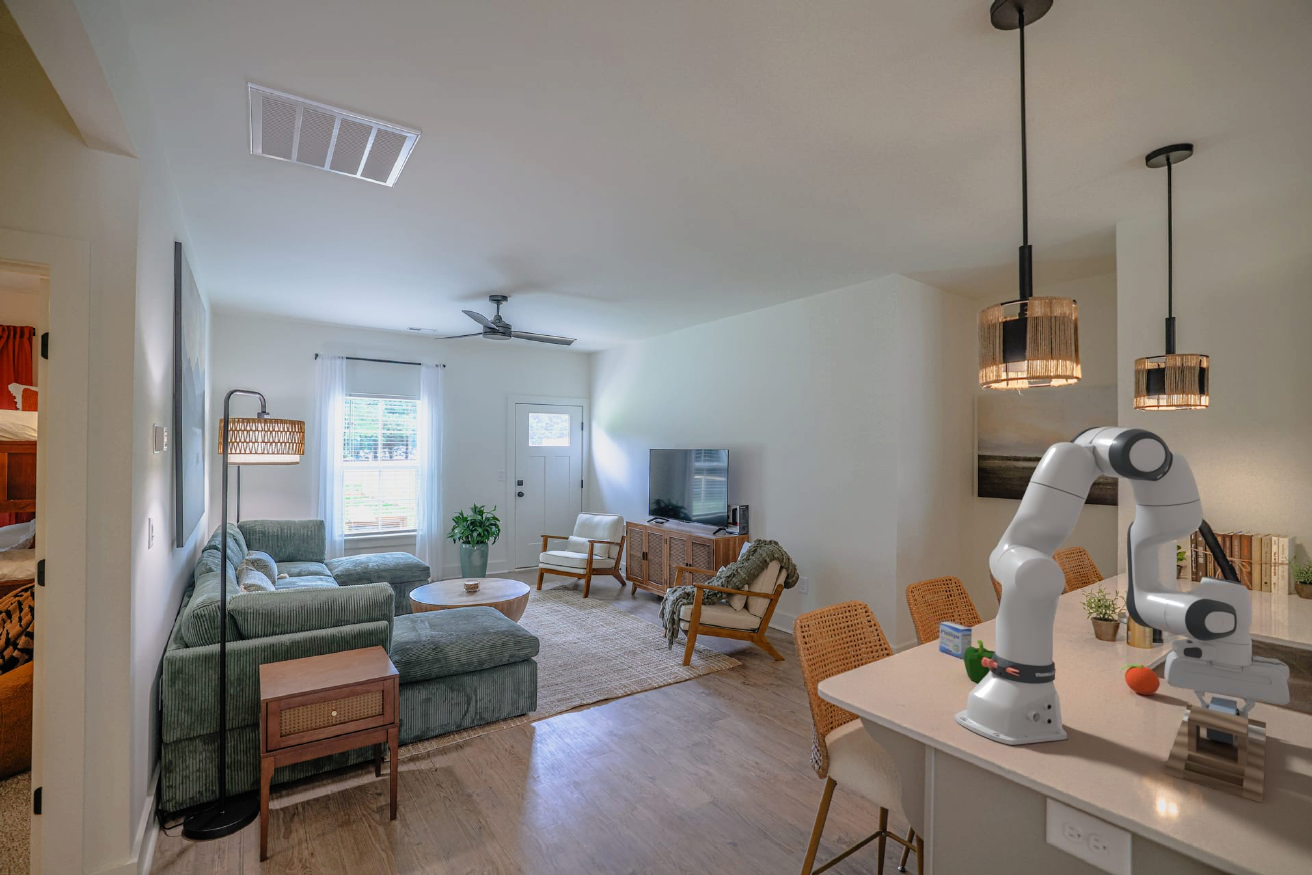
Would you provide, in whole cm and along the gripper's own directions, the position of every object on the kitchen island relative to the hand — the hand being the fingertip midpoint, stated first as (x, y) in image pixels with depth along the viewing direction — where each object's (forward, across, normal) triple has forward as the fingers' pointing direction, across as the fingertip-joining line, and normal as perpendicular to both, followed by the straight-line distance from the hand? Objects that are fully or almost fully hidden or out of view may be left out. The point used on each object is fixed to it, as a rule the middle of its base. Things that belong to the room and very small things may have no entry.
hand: (1223, 714), depth 135 cm
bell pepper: (+4, +47, -3) cm, 48 cm away
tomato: (+3, +13, -16) cm, 21 cm away
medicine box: (+4, +55, -23) cm, 60 cm away
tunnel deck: (+3, +4, +15) cm, 16 cm away
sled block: (+1, +2, +6) cm, 7 cm away
